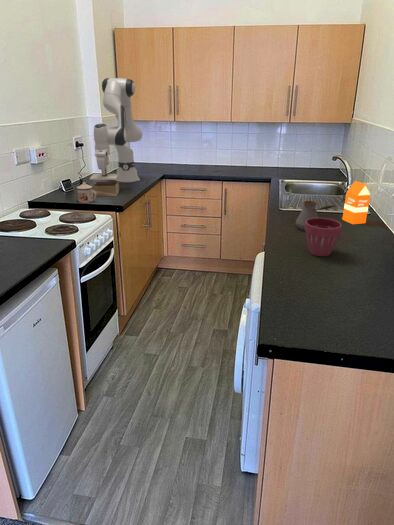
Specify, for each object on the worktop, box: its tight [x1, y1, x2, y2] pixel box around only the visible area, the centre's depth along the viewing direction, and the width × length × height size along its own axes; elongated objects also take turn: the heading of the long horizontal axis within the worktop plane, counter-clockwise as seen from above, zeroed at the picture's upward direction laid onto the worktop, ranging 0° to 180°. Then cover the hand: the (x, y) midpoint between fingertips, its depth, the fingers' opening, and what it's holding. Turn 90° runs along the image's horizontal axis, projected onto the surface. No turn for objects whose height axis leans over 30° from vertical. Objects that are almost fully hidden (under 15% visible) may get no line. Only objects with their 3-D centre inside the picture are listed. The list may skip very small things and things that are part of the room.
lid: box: [89, 168, 119, 181], centre depth 248 cm, size 14×16×5 cm
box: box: [91, 181, 120, 197], centre depth 252 cm, size 13×15×7 cm
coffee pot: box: [295, 200, 337, 231], centre depth 183 cm, size 21×12×15 cm, turn 27°
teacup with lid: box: [76, 182, 97, 204], centre depth 233 cm, size 12×9×12 cm
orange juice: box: [341, 180, 371, 225], centre depth 197 cm, size 8×9×20 cm
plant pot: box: [304, 217, 343, 257], centre depth 158 cm, size 14×14×13 cm
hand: (104, 174), depth 248 cm, fingers closed on lid, 3 cm apart
